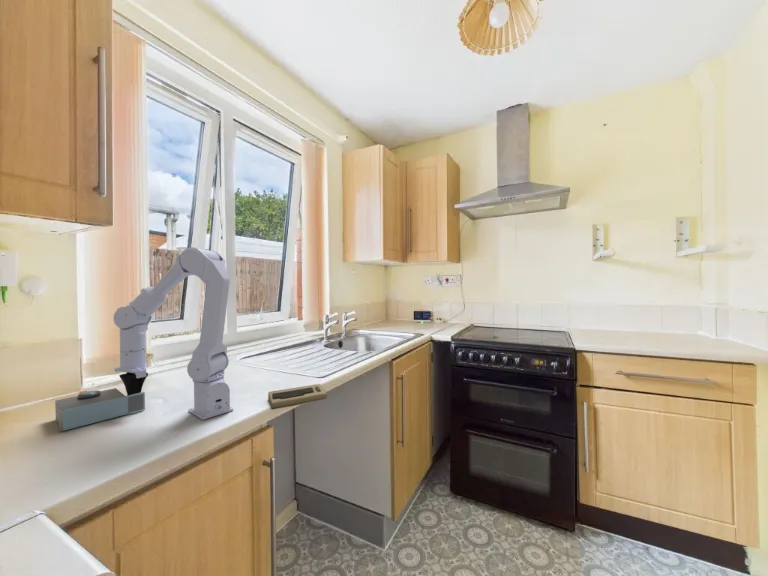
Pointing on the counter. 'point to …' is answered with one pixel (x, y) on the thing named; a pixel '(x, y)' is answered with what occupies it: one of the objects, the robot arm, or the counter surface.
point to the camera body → (85, 399)
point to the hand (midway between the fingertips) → (134, 398)
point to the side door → (100, 411)
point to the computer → (296, 395)
